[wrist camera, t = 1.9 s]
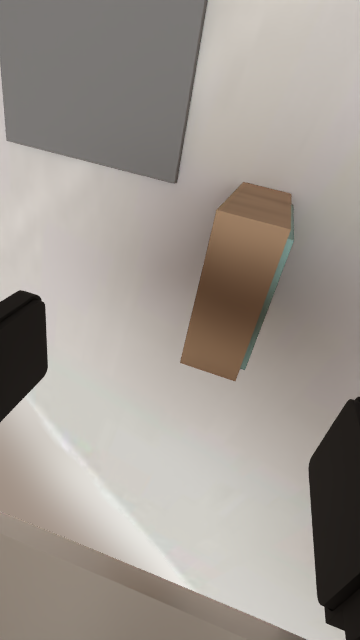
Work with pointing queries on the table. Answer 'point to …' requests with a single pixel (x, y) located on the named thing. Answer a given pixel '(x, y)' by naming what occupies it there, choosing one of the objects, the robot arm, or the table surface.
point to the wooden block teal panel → (238, 278)
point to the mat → (101, 79)
